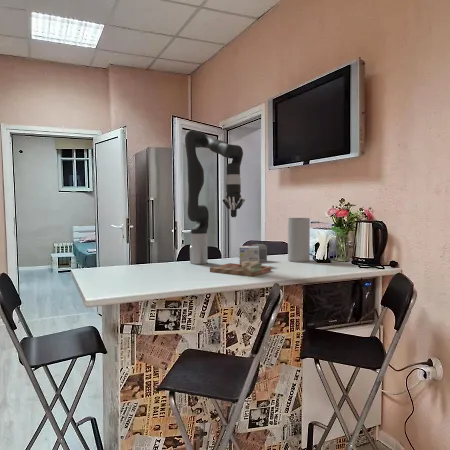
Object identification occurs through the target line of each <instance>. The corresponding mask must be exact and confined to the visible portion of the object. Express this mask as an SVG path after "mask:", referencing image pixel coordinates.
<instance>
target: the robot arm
mask: <svg viewBox="0 0 450 450" xmlns="http://www.w3.org/2000/svg"><path fill="white" fill-rule="evenodd" d="M184 145H185V146H184V147H185V152H186V153H185V154H186V163H187V188H188V189H187V190H188V196H187V197H188V198H187V199H188V200H187V217H188V219H189V221H191V222H193V223H196V224H195V225H194V226H193V227H192V228H191V229H190V242H191V243H190V246H189V263H190V264H193V265H203V264H204V265H205V264H208V229H209V220H210V219H209V217H210V216H209V215H210V214H209V209H208V207H207V206H206V205H204V204H201V205H199V197H200V193H201V192H202V191H201V190H202V189H203V186H204V184H205V173H204V172H205V171H204V168H203V165H202V164H201V162H200V160H199V158H198V155H197V150H196V149H198V148H200V149H201V148H203V149H204V148H205V149H209V151H211V152H212V153H215V154H218V155H220V156H222V157H224V158H226V159H232V161H231V162H229V163H227V164H226V167H225V168H226V177H225V188H226V191H225V192H226V195H225V198H223V199H222V202H223V204H224V206H225V207H226V208H227V209H228V210H230V217H231V218H236V217H237V216H238V214H237V213H238V212H237V211H238V210H240V209H241V208H242V205H243V204H244V203H245V201H246V199H245V198H243V197H242V195H241V193H242V190H241V189H242V188H241V187H242V186H241V185H242V183H241V182H242V181H241V180H242V179H241V164H242V162H243V156H244V151H243V148H242V147H241V145H239V144H238V145H237V144H231V143H228V142H226V141H223V140H221V139H217V138H213V137H211V136H209V135H207V134H206V133H204V132H202V131H198V130H192V129H189V130H187V131H186V133H185V136H184Z"/></svg>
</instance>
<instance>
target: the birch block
mask: <svg viewBox="0 0 450 450" xmlns="http://www.w3.org/2000/svg"><path fill="white" fill-rule="evenodd" d="M259 263H260V262H258V261H245V262H242V271H251V266H252V265H256V264H259Z"/></svg>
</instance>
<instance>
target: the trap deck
mask: <svg viewBox="0 0 450 450" xmlns="http://www.w3.org/2000/svg"><path fill="white" fill-rule="evenodd" d="M271 271H272V267H271V266H265V265H263V264H262V263H260V262H259V264H256V265H252V266H251V271H242V264H240V263H233V262H232V263H231V262H229V263H225V264H221V265H220V264H219V265H216V266H212V267H209V273H217V274H227V275H233V276H234V275H236V276H243V277H244V276H246V277H256V276H260V275H261V274H262V273H263V274H266V273H269V272H271Z"/></svg>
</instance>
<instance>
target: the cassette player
mask: <svg viewBox="0 0 450 450" xmlns="http://www.w3.org/2000/svg"><path fill="white" fill-rule="evenodd" d="M248 246H259V261H261V262H268V247H267V246H268V245H265V244H263V243H260V244H259V243H258V244H249V245H248Z"/></svg>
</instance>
